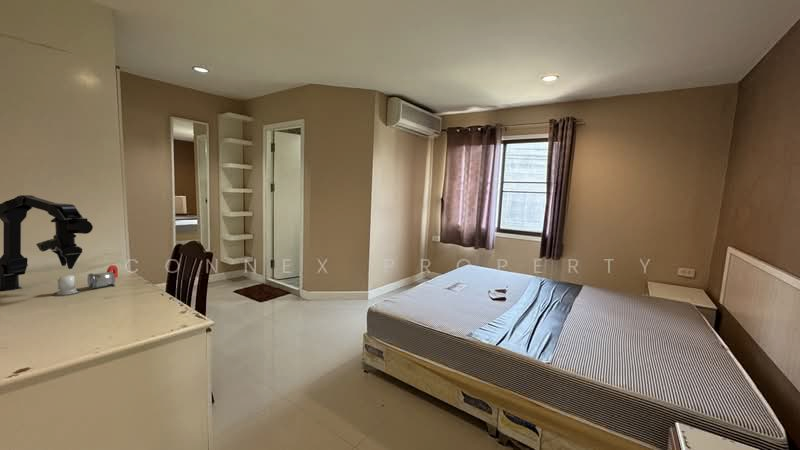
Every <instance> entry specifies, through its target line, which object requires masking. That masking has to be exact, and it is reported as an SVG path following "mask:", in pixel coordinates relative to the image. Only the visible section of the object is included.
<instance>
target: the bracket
mask: <svg viewBox="0 0 800 450" xmlns="http://www.w3.org/2000/svg"><path fill="white" fill-rule="evenodd" d="M118 271H119V269H118V266H116V265H113V264H112V265H111V264H110V265H109V266H108V267H107V270H106V272H113V274H114V277H115V279H116V278H118V277H119V273H118Z"/></svg>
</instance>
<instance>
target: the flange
mask: <svg viewBox="0 0 800 450" xmlns="http://www.w3.org/2000/svg"><path fill="white" fill-rule="evenodd" d="M82 292H83V290H82V289H81V288H80V289H79V288H76V291H75V292H72V293H66V294H60V293H59V290H58V291H55V292H54V293H52V295H53V296H54V297H64V296H72V295H73V296H74V295H77V294H81V293H82Z"/></svg>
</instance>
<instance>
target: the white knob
mask: <svg viewBox="0 0 800 450" xmlns="http://www.w3.org/2000/svg"><path fill="white" fill-rule="evenodd" d="M76 289H77V288H76V285H75V275H73V274H70V275H62V276H61V275H60V276H59V279H57V290H58V291H59V293H60V294H66V293H72V292H75V291H76Z"/></svg>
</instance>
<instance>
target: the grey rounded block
mask: <svg viewBox="0 0 800 450" xmlns="http://www.w3.org/2000/svg"><path fill="white" fill-rule="evenodd" d="M115 282H116V278H115V277H114V274H113V271H112V272H107V271H105V272H100V273H98V272H97V273H88V274H87V286H88V288H89V289H90V290H96V289H101V288H107V287H111V286H112V287H114V288H115V287H116V284H115Z"/></svg>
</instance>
